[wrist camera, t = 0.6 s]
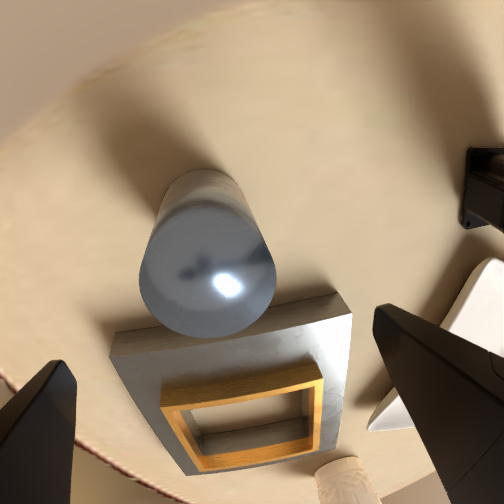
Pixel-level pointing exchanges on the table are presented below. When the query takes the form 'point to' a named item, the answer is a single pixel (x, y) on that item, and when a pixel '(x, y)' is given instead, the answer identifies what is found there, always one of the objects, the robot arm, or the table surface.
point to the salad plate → (459, 332)
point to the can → (206, 259)
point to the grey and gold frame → (242, 383)
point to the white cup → (345, 483)
